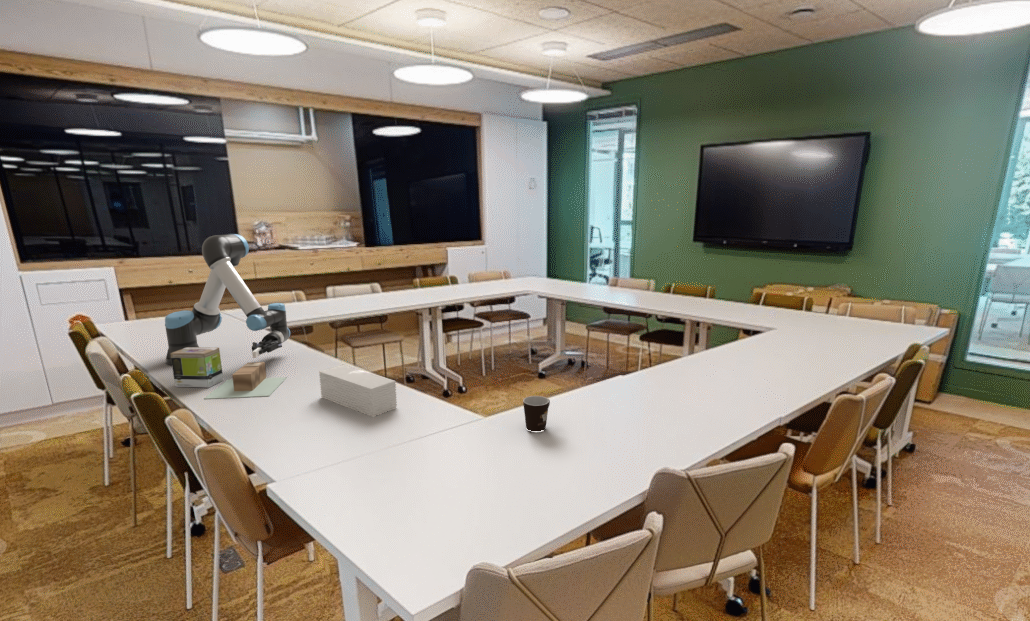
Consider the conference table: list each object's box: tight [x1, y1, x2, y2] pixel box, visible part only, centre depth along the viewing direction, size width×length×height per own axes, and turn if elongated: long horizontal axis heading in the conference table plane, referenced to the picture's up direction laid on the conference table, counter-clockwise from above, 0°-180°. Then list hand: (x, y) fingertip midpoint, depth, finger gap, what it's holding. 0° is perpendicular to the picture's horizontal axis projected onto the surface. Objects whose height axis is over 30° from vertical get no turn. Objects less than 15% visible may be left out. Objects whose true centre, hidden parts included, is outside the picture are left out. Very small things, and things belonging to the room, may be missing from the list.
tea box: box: [170, 346, 224, 389], centre depth 216 cm, size 15×10×15 cm, turn 84°
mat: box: [203, 376, 288, 400], centre depth 212 cm, size 22×24×1 cm
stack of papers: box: [318, 364, 398, 418], centre depth 195 cm, size 32×11×11 cm, turn 53°
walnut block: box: [232, 361, 267, 391], centre depth 215 cm, size 7×7×16 cm
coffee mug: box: [522, 395, 551, 431], centre depth 173 cm, size 12×9×10 cm
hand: (254, 354), depth 220 cm, fingers closed
